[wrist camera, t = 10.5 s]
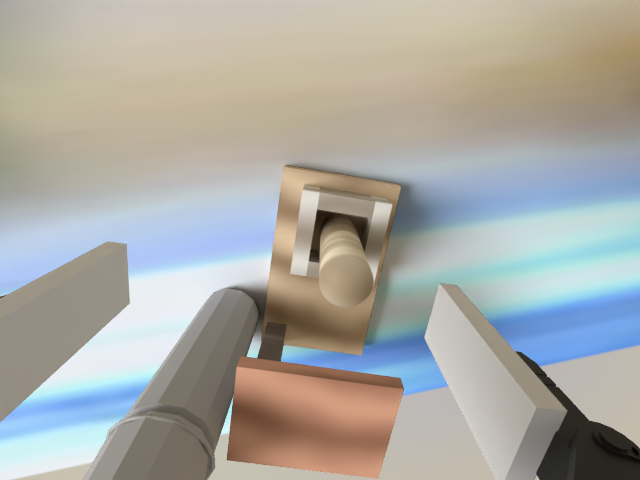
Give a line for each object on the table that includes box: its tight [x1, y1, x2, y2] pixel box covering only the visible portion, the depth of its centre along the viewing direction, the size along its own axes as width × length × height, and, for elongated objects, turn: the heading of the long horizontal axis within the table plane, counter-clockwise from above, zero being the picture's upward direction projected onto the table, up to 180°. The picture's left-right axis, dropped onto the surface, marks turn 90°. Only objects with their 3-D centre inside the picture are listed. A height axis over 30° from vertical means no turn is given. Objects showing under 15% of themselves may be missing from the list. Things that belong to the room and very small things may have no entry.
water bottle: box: [83, 288, 259, 480], centre depth 31 cm, size 9×8×25 cm
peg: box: [319, 214, 374, 307], centre depth 31 cm, size 4×4×14 cm
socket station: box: [227, 165, 404, 478], centre depth 32 cm, size 22×13×18 cm, turn 171°
